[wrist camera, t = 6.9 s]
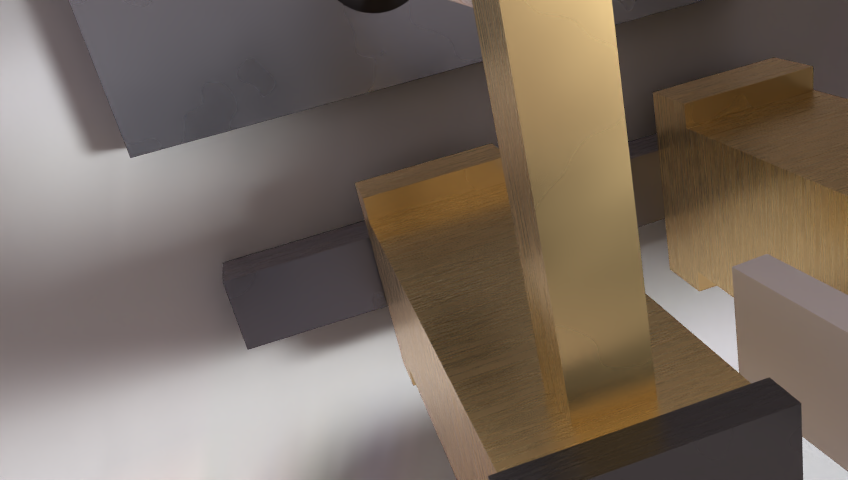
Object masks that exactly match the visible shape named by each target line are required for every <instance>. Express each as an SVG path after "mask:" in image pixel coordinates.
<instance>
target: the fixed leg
mask: <svg viewBox="0 0 848 480" xmlns="http://www.w3.org/2000/svg"><path fill="white" fill-rule="evenodd" d="M653 100H654V110H655V121H656V131H657V141H658V151H659V162H660V172H661V182H662V192H663V203H664V213H665V223H666V233H667V244H668V254H669V264H670V270H672V271H673V272H674V273H676V274H677V275H678V276H680V277H681V278H682V279H684V280H685V281H686V282H688V283H689V284H690V285H692V286H693V287H694V288H696V289H697V290H698V291H702V290H705V289H708V288H711V287H714V286H718V287H720V288H721V289H723V290H724V291H725V292H727V293H728V294H730V295H731V296H732V297H734V290H733V276H732V267H733V266H735V265H738V264H741V263H744V262H746V261H749V260H752V259H754V258H757V257H760V256H763V255H765V254H769V255H771V256H772V257H774V258H776V259H778V260H780V261H782V262H784V263H786V264H788V265H790V266H792V267H794V268H796V269H798V270H800V271H802V272H804V273H806V274H808V275H810V276H812V277H814V278H815V279H817V280H819V281H821V282H823V283H825V284H827V285H829V286H831V287H833V288H835V289H837V290H839V291H841V292H843V293H845V294H847V295H848V99H846V98H842V97H838V96H834V95H831V94H827V93H823V92H819V91H816V90H813V66H810V65H805V64H801V63H797V62H792V61H788V60H783V59H779V58H775V57H773V58H770V59H766V60H763V61H760V62H756V63H753V64H749V65H746V66H742V67H739V68H735V69H732V70H728V71H725V72H722V73H718V74H715V75H711V76H708V77H704V78H701V79H697V80H694V81H691V82H687V83H684V84H680V85H677V86H673V87H670V88H666V89H663V90H659V91H656V92H653Z"/></svg>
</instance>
